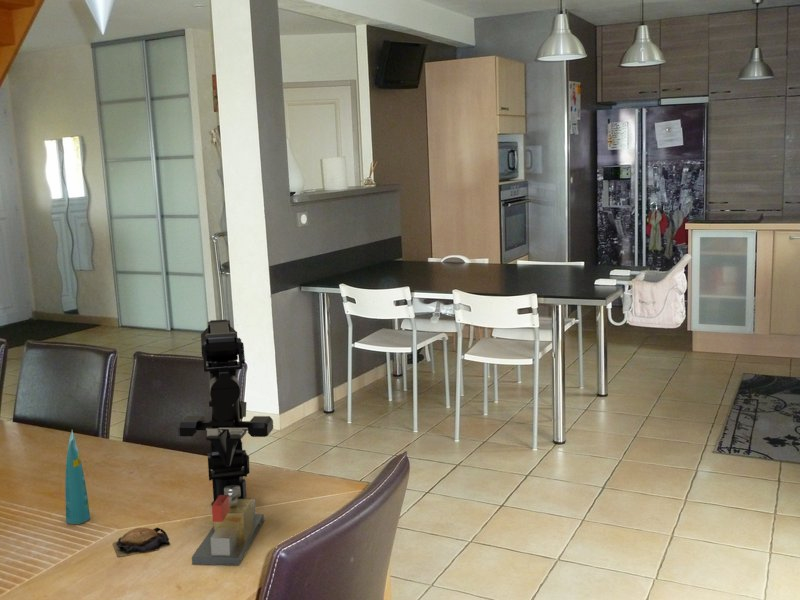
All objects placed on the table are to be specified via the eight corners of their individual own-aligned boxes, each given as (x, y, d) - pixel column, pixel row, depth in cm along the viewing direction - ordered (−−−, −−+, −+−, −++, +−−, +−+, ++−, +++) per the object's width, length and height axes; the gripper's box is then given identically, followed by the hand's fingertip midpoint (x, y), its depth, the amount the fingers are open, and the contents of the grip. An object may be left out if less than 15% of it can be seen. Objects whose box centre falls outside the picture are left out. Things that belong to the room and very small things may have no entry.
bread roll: (117, 562, 159) (115, 544, 159) (111, 544, 167) (110, 527, 166) (173, 549, 164) (171, 532, 163) (165, 533, 171) (163, 516, 171)
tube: (91, 524, 175) (84, 437, 172) (67, 528, 173) (59, 441, 170) (88, 511, 182) (81, 428, 179) (64, 516, 180) (57, 431, 177)
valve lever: (227, 496, 166) (226, 481, 165) (242, 496, 166) (241, 481, 165) (209, 521, 154) (208, 505, 153) (225, 521, 154) (224, 505, 153)
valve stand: (192, 564, 156) (189, 518, 155) (222, 520, 176) (220, 478, 174) (238, 565, 155) (236, 518, 154) (264, 520, 175) (262, 479, 174)
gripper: (277, 383, 176) (280, 452, 179) (192, 383, 178) (197, 452, 180) (265, 397, 165) (268, 471, 168) (174, 397, 167) (179, 470, 169)
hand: (228, 465), depth 172 cm, fingers closed
